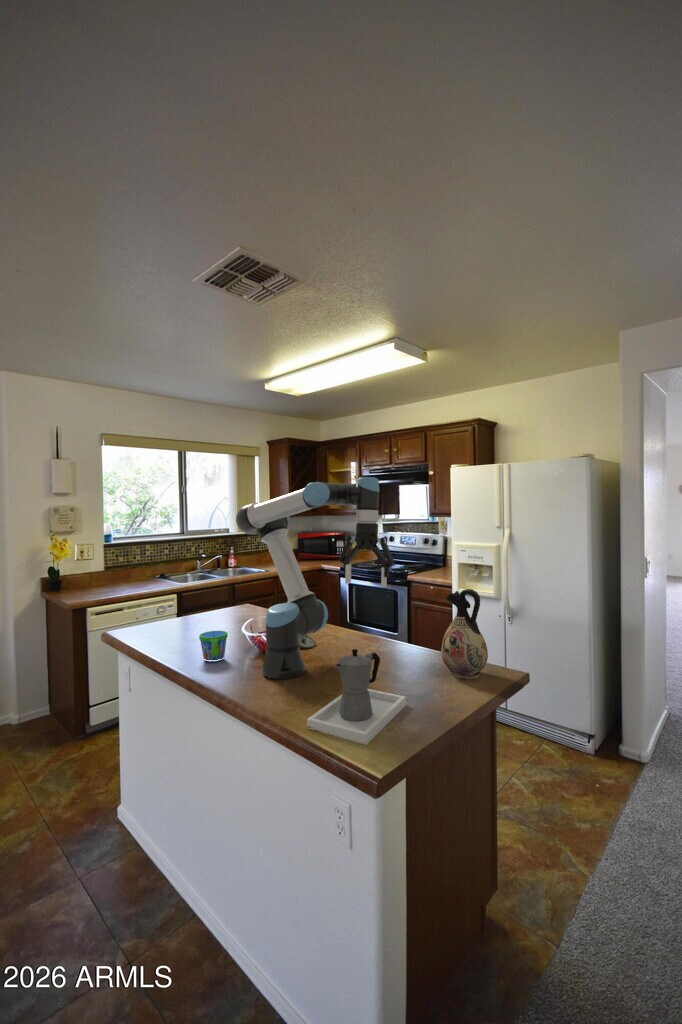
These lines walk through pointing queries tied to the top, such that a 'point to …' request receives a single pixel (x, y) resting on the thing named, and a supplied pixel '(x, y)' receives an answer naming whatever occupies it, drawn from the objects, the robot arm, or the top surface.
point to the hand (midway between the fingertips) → (365, 585)
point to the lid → (306, 642)
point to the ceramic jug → (464, 639)
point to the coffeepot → (356, 685)
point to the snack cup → (213, 644)
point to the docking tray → (361, 731)
